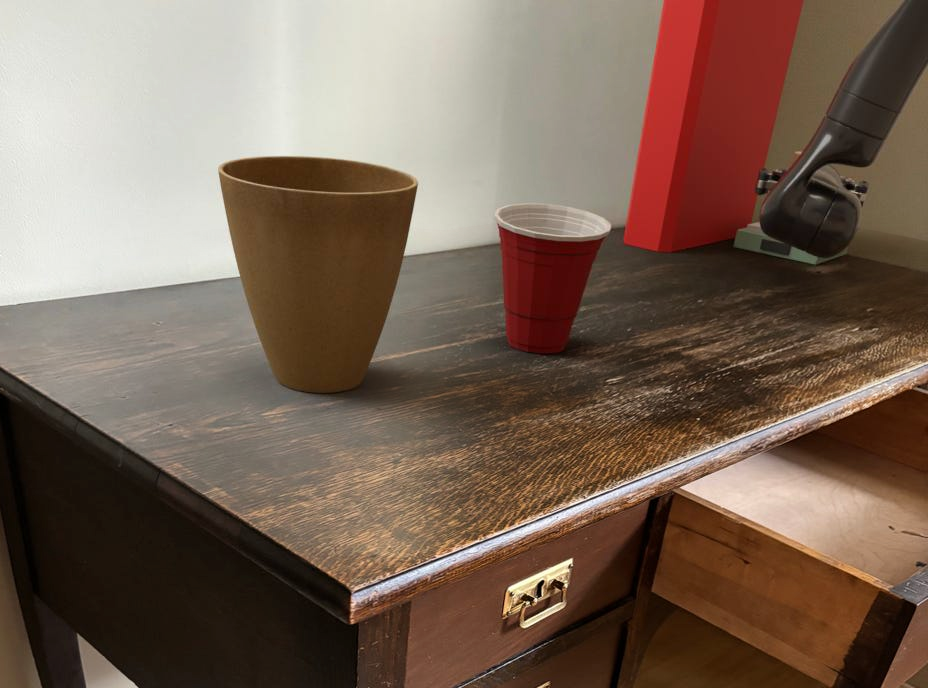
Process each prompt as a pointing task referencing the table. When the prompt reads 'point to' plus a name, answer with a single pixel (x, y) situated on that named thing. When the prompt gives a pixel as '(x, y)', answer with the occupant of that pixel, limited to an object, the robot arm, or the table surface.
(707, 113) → the book
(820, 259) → the scale
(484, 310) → the table surface
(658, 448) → the table surface
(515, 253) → the plastic cup
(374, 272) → the plant pot
